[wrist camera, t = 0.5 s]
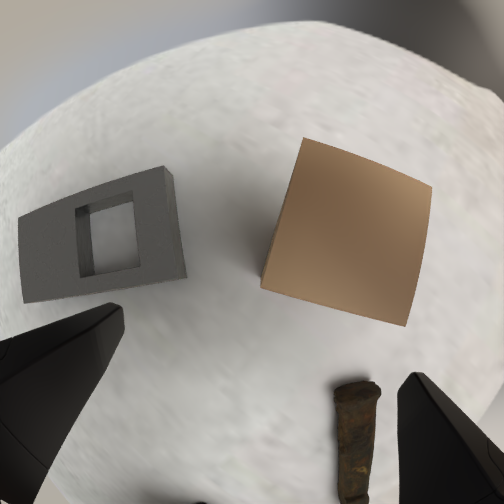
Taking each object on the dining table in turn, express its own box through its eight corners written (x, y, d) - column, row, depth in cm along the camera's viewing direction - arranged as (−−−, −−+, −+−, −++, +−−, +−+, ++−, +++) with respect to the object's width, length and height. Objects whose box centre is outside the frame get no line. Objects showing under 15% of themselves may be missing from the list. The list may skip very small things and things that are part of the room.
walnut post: (312, 292, 22) (405, 326, 7) (260, 277, 22) (260, 287, 7) (327, 240, 22) (432, 187, 7) (276, 225, 22) (303, 137, 7)
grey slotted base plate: (172, 175, 23) (163, 165, 20) (187, 278, 22) (178, 278, 20) (32, 221, 23) (18, 217, 21) (38, 302, 22) (23, 303, 20)
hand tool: (328, 383, 21) (342, 406, 17) (370, 375, 21) (391, 394, 17) (322, 509, 20) (329, 534, 15) (355, 502, 20) (364, 526, 15)
